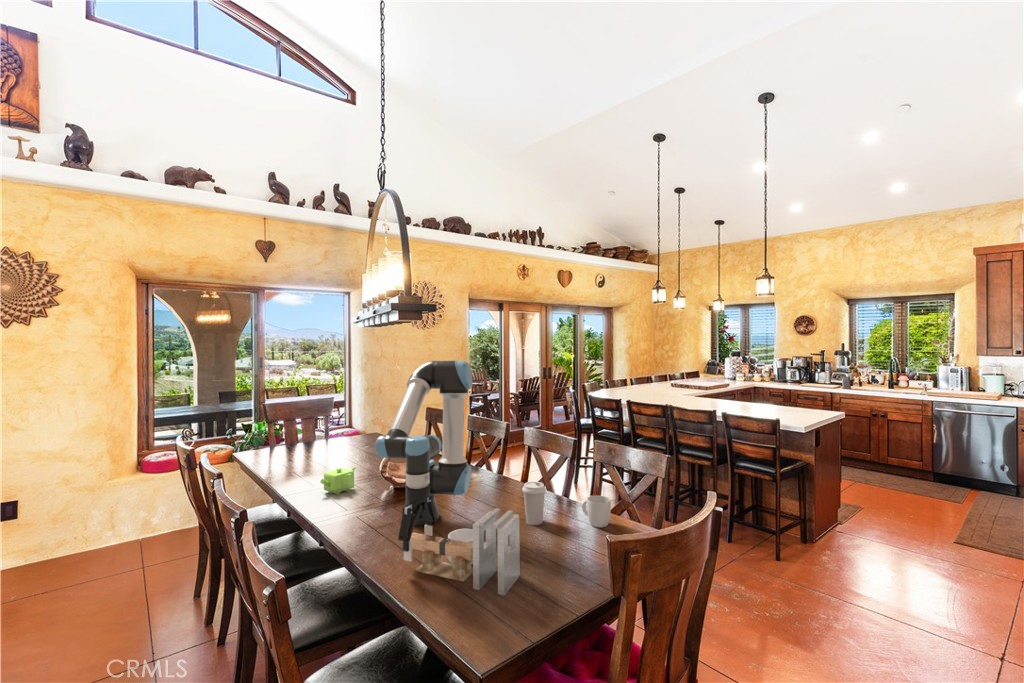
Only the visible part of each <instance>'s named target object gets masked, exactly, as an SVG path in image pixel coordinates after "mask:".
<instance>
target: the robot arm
mask: <svg viewBox="0 0 1024 683" xmlns="http://www.w3.org/2000/svg"><path fill="white" fill-rule="evenodd" d="M472 372H473V371H472V368H471V365H470V364H469V362H467V361H465V360H464V361H463V360H430V361H427V362H424V363H423V364H421V365H420V366H419V367H417V368H416V369H415V370H414V371H413V373H412V374H411V375H410V376H409V378H408V380H407V382H406V391H405V393H404V395H403V398H402V400H401V402H400V404H399V406H398V409H397V412H396V414H395V416H394V418H393V421H392V423H391V425H390V427H389V430H388V432H387V434H386V435H380V436H378V437H377V439H376V440H375V444H374V451H375V456H377V457H378V458H383V459H405V476H404V478H405V502H404V505H403V507H402V510H401V511H402V512H401V522H400V528H399V533H398V539H397V540H398V541H401V542H402V551H403V561H407V562H412V561H413V549H412V540H410V539H411V535H412V532H413V531H414V528H415V526H423V525H424V530H423V531H424V532H423V534H425V535H430V536H434V535H433V532H434V531H433V530H434V529H433V526H436V524H437V522H436V521H438V519H439V518H440V510H439V508H438V504H437V502H436V498H435V497H436V496H435V495H452V496H463V495H465V494H466V493H467V492H468V490H469V487H470V484H471V479H472V472H473V470H472V466H471V465H469V464H468V459H467V458H466V457H465V456H464V443H465V442H464V440H465V439H464V438H465V437H464V435H465V432H464V431H465V428H464V426H465V397H467V395H468V393H469V390H471V389H472V387H473V374H472ZM433 389H435V390H438V389H439V395H440V396H441V397H442V398H443V399H442V400H443V401H442V441H441V439H440V438H439V437H438V436H437V435H434V434H429V435H424V436H423V435H417V436H410V435H411V433H412V429H413V427H414V425H415V422H416V420H417V417H418V414H419V413H420V410H421V406H422V405H423V402H424V399H425V397H426V396H427V395H428V394H429V393H430V392H431V390H433ZM441 450H442V452H441ZM440 452H441V454H442V456H441V457H440V458H439V460H438V462H437V464H435V463H436V462H435V460H434V458H435V457H437V456H438V454H439V453H440ZM407 536H408V537H407Z"/></svg>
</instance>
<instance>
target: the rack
mask: <svg viewBox="0 0 1024 683" xmlns="http://www.w3.org/2000/svg"><path fill="white" fill-rule="evenodd" d="M421 554H422V555H421V558H422V561H421V562H422V563H421V564H420V565H419V566H418V567H417V568H416V572H418V573H423V574H428V575H432V576H437V577H441V578H446V579H451V580H454V581H459V582H465V581H466V580H467V579H468V578H469V577H470V576H471V575H473V567H472V564H471V560H466V559H461V558H456V557H455V558H453V564H452V563H451V562H445V561H442V555H439V554H436V553H431V552H426V551H422V553H421Z"/></svg>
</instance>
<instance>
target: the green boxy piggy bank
mask: <svg viewBox="0 0 1024 683" xmlns="http://www.w3.org/2000/svg"><path fill="white" fill-rule="evenodd" d="M357 468H358V466H357V465H356V466H354V467H352V468H351V469H348V468H345V467H342V468H341V467H338V468H336V469H334V470H330V471H327V472H323V478H322V479H320V482H319V483H320V484H322V485H323V490H324V491H326V492H328V494H331V493H333V494H334V495H336V496H338V495H339V496H340V494H341V492H345V493H349V492H350V491H351V490H350V489H354V488H355V470H356V469H357Z"/></svg>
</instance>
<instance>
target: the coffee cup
mask: <svg viewBox="0 0 1024 683" xmlns="http://www.w3.org/2000/svg"><path fill="white" fill-rule="evenodd" d="M521 490H522V492H523V501H524V512H525V513H524V514H525V522H526V524H528V525H531V526H539V525H542V524H543V522H544V521H543V519H544V509H545V508H544V507H545V506H544V504H545V495H546V492H547V488H546V486H545V484H544V483H543V482H541V481H540V482H539V481H528V482H527V481H526V482H525V483H523V486H522V489H521Z"/></svg>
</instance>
